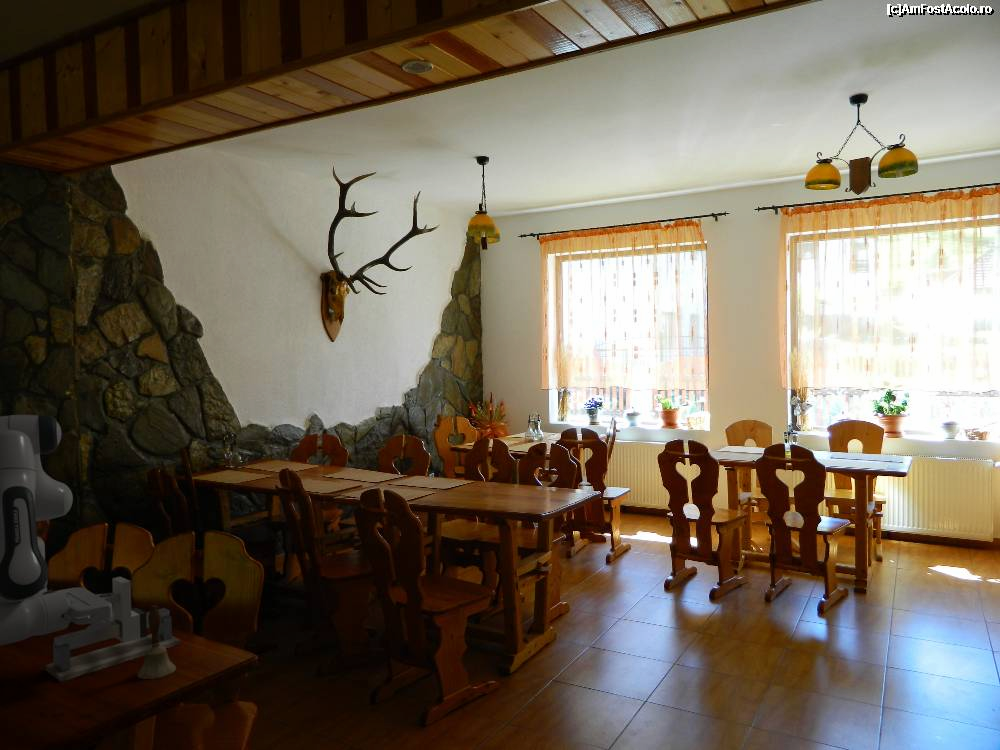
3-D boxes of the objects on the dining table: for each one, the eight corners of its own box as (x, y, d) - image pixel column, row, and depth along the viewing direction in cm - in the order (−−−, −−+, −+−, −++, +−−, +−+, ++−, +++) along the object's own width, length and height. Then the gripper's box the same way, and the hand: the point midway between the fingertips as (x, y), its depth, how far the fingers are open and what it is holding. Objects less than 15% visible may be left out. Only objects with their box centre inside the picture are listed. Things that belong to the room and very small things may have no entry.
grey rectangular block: (123, 642, 180) (122, 583, 180) (114, 637, 184) (112, 578, 184) (140, 638, 183) (138, 579, 183) (130, 632, 187) (128, 574, 187)
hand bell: (146, 683, 167) (144, 614, 166) (131, 673, 172) (129, 606, 171) (182, 670, 173) (180, 604, 172) (166, 661, 178) (164, 597, 178)
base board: (60, 681, 168) (60, 676, 168) (45, 670, 174) (45, 665, 174) (180, 644, 189) (180, 640, 189) (163, 635, 195) (163, 630, 195)
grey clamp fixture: (61, 672, 170) (60, 641, 170) (53, 666, 173) (52, 635, 173) (171, 638, 190) (171, 610, 189) (163, 634, 193) (162, 606, 193)
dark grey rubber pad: (140, 638, 183) (139, 614, 183) (130, 632, 187) (129, 609, 187) (146, 636, 184) (146, 612, 184) (136, 630, 188) (136, 607, 188)
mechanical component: (112, 638, 194) (134, 625, 204) (111, 622, 194) (134, 609, 204) (77, 637, 195) (101, 624, 205) (76, 621, 195) (100, 608, 205)
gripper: (71, 608, 164) (134, 593, 175) (40, 590, 178) (101, 576, 188) (71, 636, 164) (135, 618, 175) (41, 615, 178) (101, 600, 188)
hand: (117, 596), depth 182 cm, fingers closed, pressing on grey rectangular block
